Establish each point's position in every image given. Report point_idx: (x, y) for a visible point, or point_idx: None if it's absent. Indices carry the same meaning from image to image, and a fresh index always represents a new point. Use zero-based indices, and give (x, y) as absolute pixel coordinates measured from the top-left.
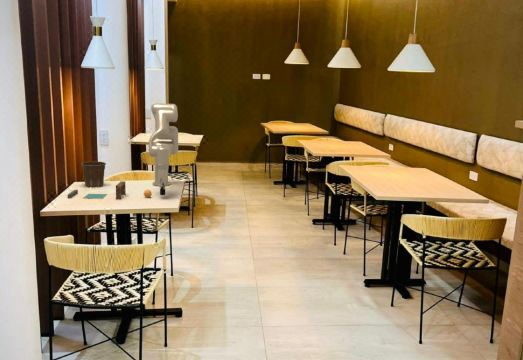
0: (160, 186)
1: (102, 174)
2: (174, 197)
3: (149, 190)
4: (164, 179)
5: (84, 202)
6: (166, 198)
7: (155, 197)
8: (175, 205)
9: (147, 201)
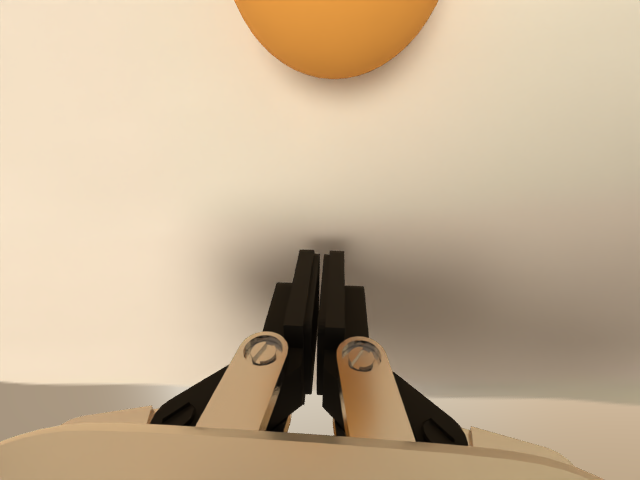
0: (166, 413)
1: None
2: None
3: (308, 6)
4: None
5: None
6: None
7: (343, 147)
8: (14, 380)
9: (13, 39)
